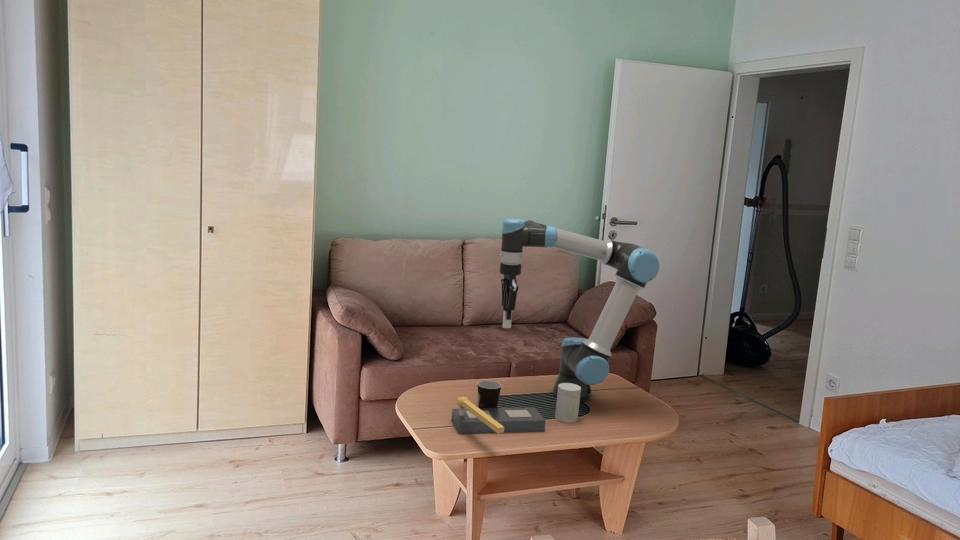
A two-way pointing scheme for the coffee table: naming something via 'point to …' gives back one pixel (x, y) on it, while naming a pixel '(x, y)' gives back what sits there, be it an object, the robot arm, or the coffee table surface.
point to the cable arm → (480, 414)
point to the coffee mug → (488, 394)
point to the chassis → (499, 420)
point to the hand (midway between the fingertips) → (506, 327)
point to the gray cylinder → (567, 402)
